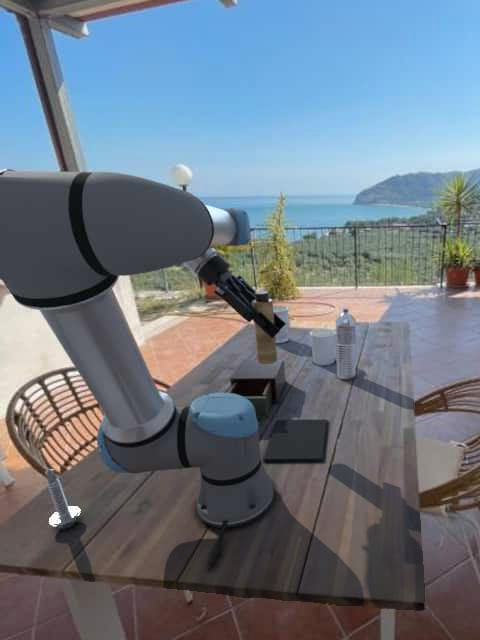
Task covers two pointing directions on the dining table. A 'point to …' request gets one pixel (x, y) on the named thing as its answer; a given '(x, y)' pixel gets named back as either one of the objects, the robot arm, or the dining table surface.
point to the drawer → (256, 395)
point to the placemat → (297, 441)
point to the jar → (284, 316)
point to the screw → (60, 504)
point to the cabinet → (262, 374)
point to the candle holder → (323, 346)
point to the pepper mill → (263, 340)
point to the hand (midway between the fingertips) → (279, 330)
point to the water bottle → (346, 346)
